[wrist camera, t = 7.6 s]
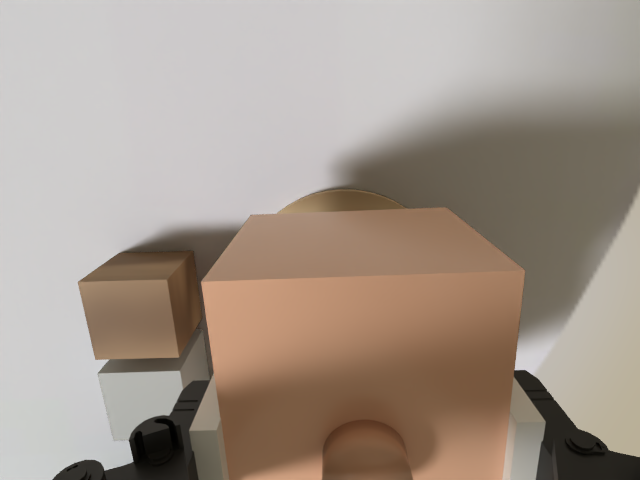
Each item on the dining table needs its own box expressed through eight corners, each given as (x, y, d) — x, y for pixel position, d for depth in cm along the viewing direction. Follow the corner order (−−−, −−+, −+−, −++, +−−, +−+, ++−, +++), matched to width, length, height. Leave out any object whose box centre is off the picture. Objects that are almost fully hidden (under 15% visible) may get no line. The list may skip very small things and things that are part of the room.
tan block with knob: (250, 214, 17) (188, 299, 9) (446, 207, 17) (545, 287, 9) (272, 432, 20) (238, 626, 13) (436, 428, 20) (502, 624, 12)
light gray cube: (133, 331, 24) (97, 373, 20) (203, 328, 24) (179, 370, 20) (145, 389, 25) (113, 440, 21) (211, 387, 25) (191, 438, 21)
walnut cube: (119, 252, 22) (77, 282, 18) (193, 250, 22) (167, 279, 18) (132, 318, 23) (95, 359, 20) (202, 316, 23) (179, 357, 20)
